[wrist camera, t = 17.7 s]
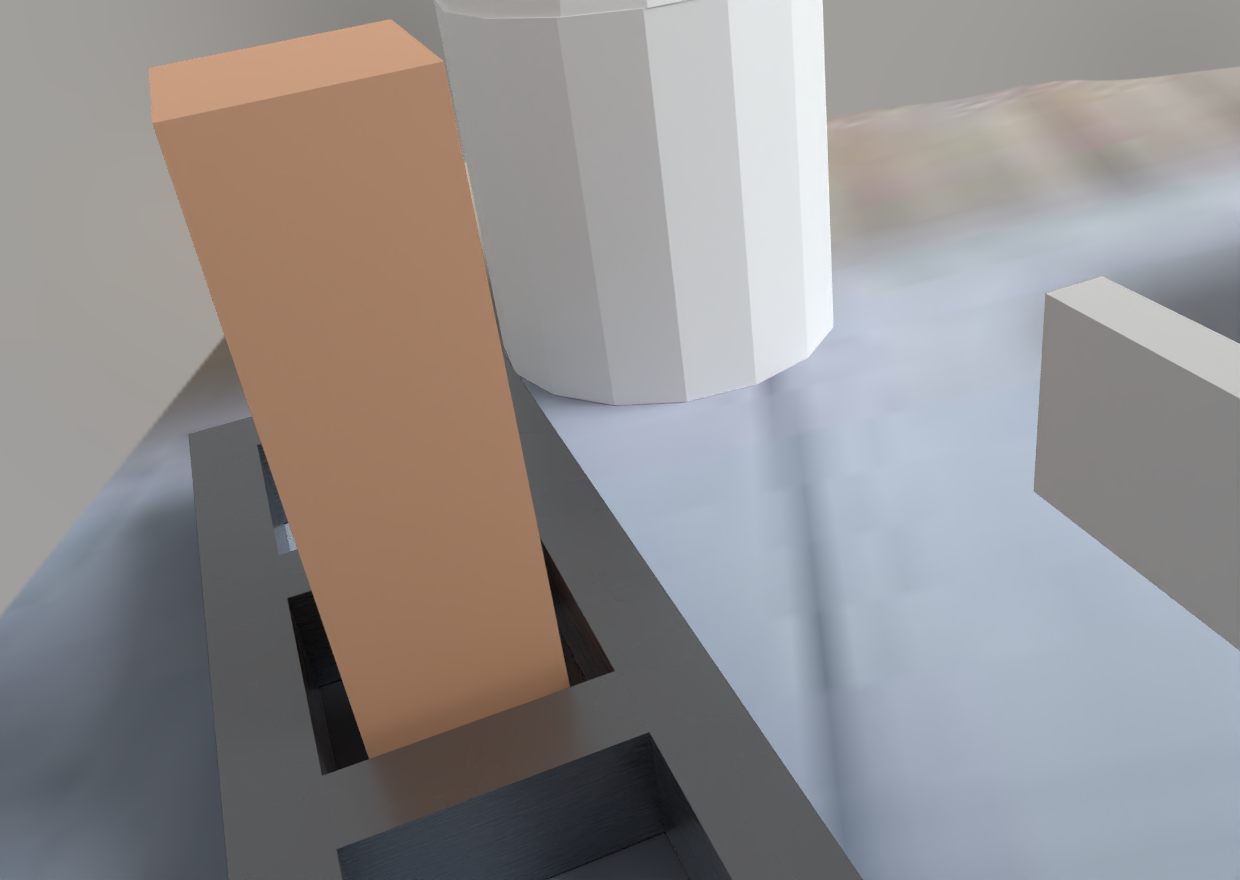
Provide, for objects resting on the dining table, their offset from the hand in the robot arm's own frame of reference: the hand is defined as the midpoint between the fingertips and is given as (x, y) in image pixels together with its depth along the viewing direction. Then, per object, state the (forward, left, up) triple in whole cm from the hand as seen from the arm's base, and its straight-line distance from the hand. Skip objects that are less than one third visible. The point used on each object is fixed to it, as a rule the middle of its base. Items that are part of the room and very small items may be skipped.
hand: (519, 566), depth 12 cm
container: (-13, -30, -13) cm, 35 cm away
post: (0, -12, -13) cm, 17 cm away
